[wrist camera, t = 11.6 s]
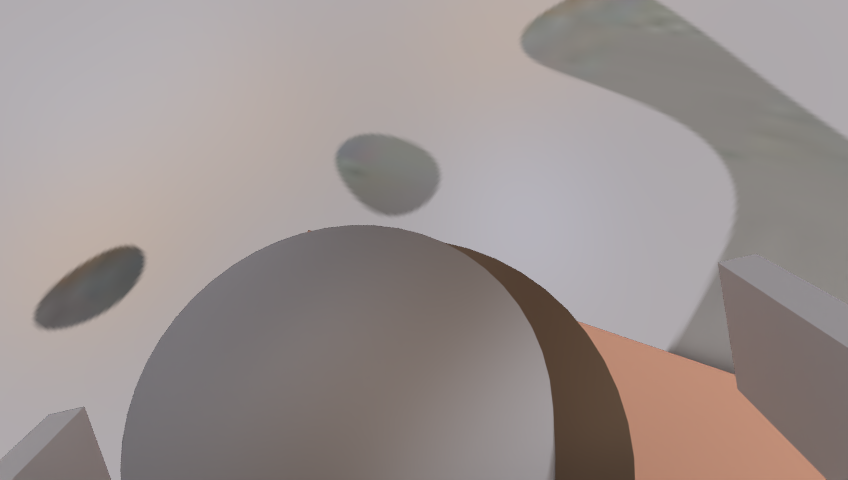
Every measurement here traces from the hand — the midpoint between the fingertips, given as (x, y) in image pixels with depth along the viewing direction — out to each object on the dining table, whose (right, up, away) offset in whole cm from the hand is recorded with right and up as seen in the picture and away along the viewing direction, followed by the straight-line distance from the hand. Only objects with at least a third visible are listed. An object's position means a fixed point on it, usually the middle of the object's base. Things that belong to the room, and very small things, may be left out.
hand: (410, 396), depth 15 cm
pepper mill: (+1, -6, +5) cm, 8 cm away
